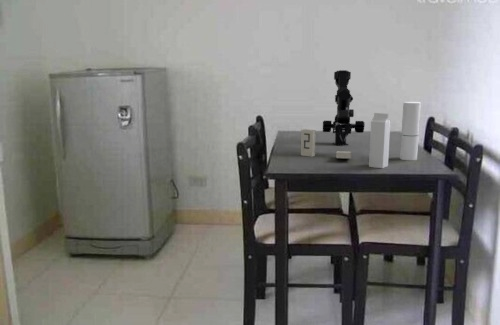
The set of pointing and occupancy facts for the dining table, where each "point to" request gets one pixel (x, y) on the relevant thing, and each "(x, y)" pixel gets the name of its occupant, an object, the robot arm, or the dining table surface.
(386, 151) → the milk
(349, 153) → the tile one
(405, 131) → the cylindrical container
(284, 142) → the dining table surface
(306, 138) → the tile two
